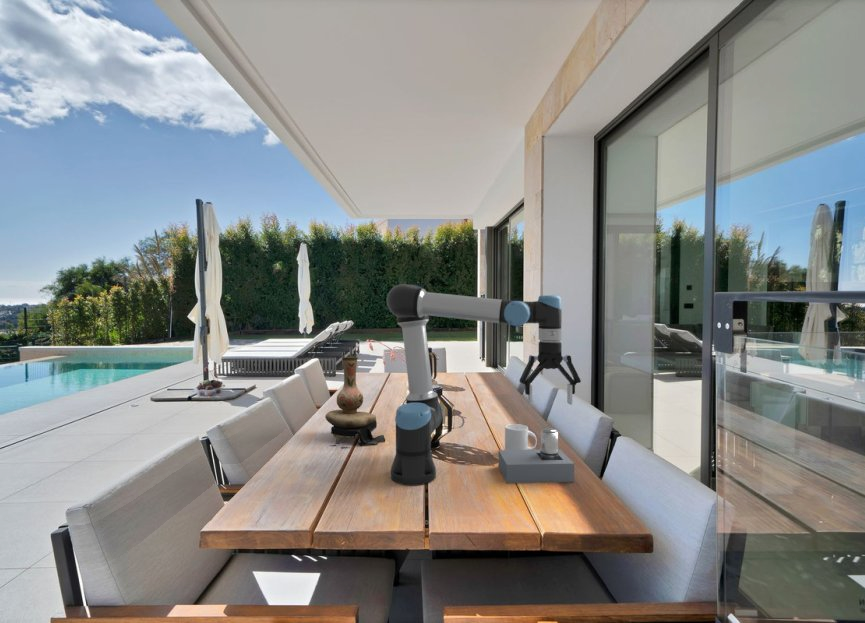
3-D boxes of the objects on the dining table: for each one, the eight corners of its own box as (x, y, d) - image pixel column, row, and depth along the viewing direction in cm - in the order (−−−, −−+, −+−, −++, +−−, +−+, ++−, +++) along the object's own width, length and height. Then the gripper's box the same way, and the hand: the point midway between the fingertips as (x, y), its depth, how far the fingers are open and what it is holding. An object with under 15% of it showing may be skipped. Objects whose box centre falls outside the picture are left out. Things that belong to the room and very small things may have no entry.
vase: (376, 429, 203) (376, 353, 202) (387, 444, 182) (387, 359, 181) (323, 434, 195) (323, 355, 195) (328, 450, 174) (328, 361, 174)
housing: (506, 483, 142) (506, 464, 142) (498, 467, 156) (498, 450, 156) (574, 481, 143) (574, 463, 143) (559, 466, 157) (559, 449, 157)
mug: (538, 459, 164) (538, 430, 163) (505, 458, 165) (505, 429, 165) (535, 451, 172) (535, 424, 172) (504, 450, 173) (504, 423, 173)
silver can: (543, 471, 147) (543, 432, 146) (538, 465, 153) (538, 427, 152) (560, 471, 147) (560, 432, 147) (555, 464, 153) (555, 427, 153)
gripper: (515, 342, 145) (516, 407, 145) (590, 341, 146) (590, 405, 146) (510, 340, 152) (510, 402, 152) (582, 339, 153) (581, 400, 154)
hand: (549, 404), depth 149 cm, fingers open, 13 cm apart
